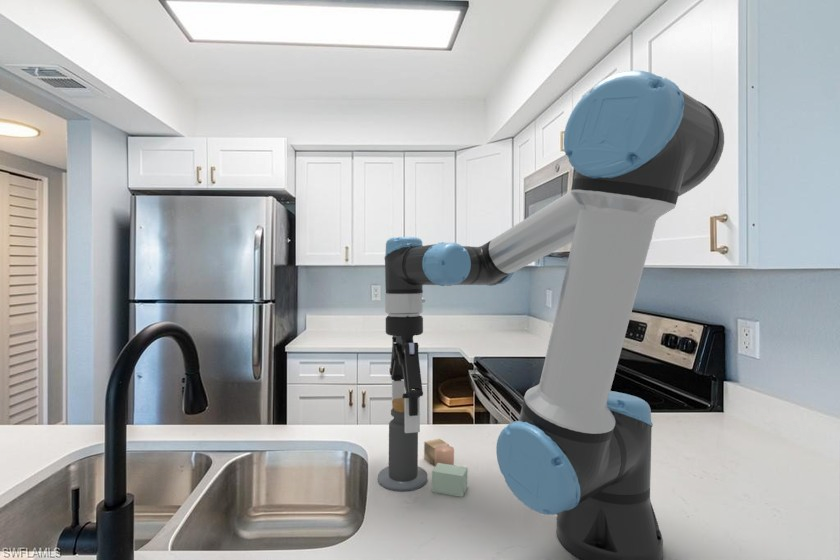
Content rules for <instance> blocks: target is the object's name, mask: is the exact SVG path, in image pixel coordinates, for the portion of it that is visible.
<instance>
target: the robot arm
mask: <svg viewBox="0 0 840 560" xmlns="http://www.w3.org/2000/svg"><path fill="white" fill-rule="evenodd" d="M724 147H725V133H724V128H723V123H722V122H721V120H720V118H719V117H718V116H717V113H715V112H714V111H713V109H712V108H710V107H709V106H707V105H706V104H704V103H703V102H701V101H699V100H697V99H695V98H694V97H692V96H691V95H689V94H687V93H686V92H684V91H683V90H681V89H680V88H679V86H678V85H677V84H676V83H675V82H674V81H672V80H671V79H669V78H667V77H663V76H659V75H656V74H655V73H651V72H649V71H645V70H627V71H622V72H618V73H615V74H613V75H611V76H608V77H606V78H604V79H603V80H601V81H599V82H598V83H596V84H595V85H594V87H592V89H591V90H590V91H589V92H587V93H585V94H584V95H583V96H582V97H581V98H580V100H579V101H578V102H577V103H576V105H575V106H574V107H573V109H572V111H571V113H570V115H569V118H568V120H567V121H566V124H565V128H564V133H563V150H564V153H565V156H567V158H568V162H569V164H570V166H571V167H572V168H573V169H574V171H575V172H574V174H573V179H572V185H571V189H570V191H568V192H567V193H565V194H564V195H562V196H561V197H559V198H557V199H555V200H554V201H552V202H550V203H549V204H547V205H546V206H544V207H543V208H541V209H539V210H538V211H536V212H534V213H533V214H531V215H529V216H528V217H526V218H525V219H523V220H522V221H520V222H518V223H517V224H515V225H513V226H512V227H510V228H509V229H507V230H505V231H504V232H502V233H501V234H498V236H496V237H494V238H493V239H491V240H489V241H488V242H486V243H484V244H482V245H481V246H468V245H461V244H460V243H457V242H443V241H442V242H438V243H434V244H427V245H423V241H422V239H421V238H419V237H414V236H413V237H412V236H399V237H391V238H389V239H387V240H386V243H385V255H384V274H385V275H384V277H385V278H384V279H385V283H384V284H385V285H384V287H385V293H384V300H385V301H384V306H385V309H384V310H385V313H386V314H388V315H387V316H386V317H385V334H387V335H388V336H392V337H391V339H392V344H391V356H390V357H391V359H390V370H389V375H390V376H391V377H390V379H391V401H392V400H394V399H397V398H405V433H415V432H418V433H420V432H421V423H420V422H421V421H420V419H421V417H420V416H421V411H420V410H421V409H420V407H421V406H420V402H421V399H420V398H421V397H423V395H424V391H423V383H422V375H421V367H420V357H419V346H420V345H419V343H418V342H414V336H419V335H422V334H423V333H424V317H423V315H420V314H422V313H423V312H424V309H423V306H424V305H423V303H426V298H425V297H423V292H424V290H423V286H441V287H445V286H447V287H448V286H449V287H450V286H497V285H504V284H505V283H507V282H510V280H511V279H512V277H513V276H514V274H515V272H517V271H518V270H520V269H523V268H525V267H526V266H528V265H530V264H533V263H534V262H536V261H538V260H540V259H542V258H544V257H546V256H548V255H549V254H553V252H556V251H558V250H560V249H562V248H564V247H566V246H567V245H569V244H571V247H570V251H569V255H568V259H567V263H566V267H565V272H564V276H563V281H562V284H561V288H560V293H559V298H558V302H557V306H556V307H557V308H556V310H555V314H554V315H555V316H554V319H553V323H552V328H551V331H550V336H549V340H548V344H547V348H546V349H547V350H546V353H545V359H544V362H543V367H542V371H541V376H540V379H539V383H538V384H537V385H534V386H532V387H530V388H529V389H527V391H526V392H525V394H524V396H523V400H522V401H523V402H522V405H521V410H520V414H519V419H518V420H515V421H512V422H510V423H508V424H507V425H506V426H504V428H503V429H502V430H501V431H500V433H499V435H498V437H497V440H496V448H495V449H496V459H497V464H498V468H499V470H500V473H501V475H502V476H503V478H504V481H505V484H506V485H507V487H508V488H509V490H510V491H511V492H512V493H513V495H514V496H515V497H516V498H517V499H518V500H519V501H520V502H521V503H522V504H523V505H525V506H526V507H527V508H528V509H530V510H531V511H534V512H535V513H539V514H542V515H549V516H550V515H551V516H552V515H556V525H555V526H556V535H557V539H558V540H559V541H560V543H561V545H562V546H563V547H564V548H565V549H566V550H567V551H569V552H570V553H571V554H572V555H574V556H575V557H576V558H578V559H580V560H663V558H664V539H663V535H662V533H661V532H662V531H661V530H660V526H659V522H658V520H657V517H656V514H655V509H654V507H653V504H652V502H651V470H652V469H651V467H652V463H651V462H652V431H653V429H652V428H653V426H654V425H653V422H652V411H651V407H650V404H649V403H648V402H647V401H645V400H644V399H642V398H641V397H638V396H635V395H631V394H628V393H625V392H624V393H623V392H618V391H612V390H611V389H612V385H613V381H614V379H615V374H616V370H617V367H618V363H619V361H620V358H621V352H622V349H623V345H624V341H625V338H626V334H627V330H628V326H629V322H630V319H631V316H632V311H633V308H634V305H635V300H636V297H637V293H638V289H639V287H640V286H639V285H640V283H641V279H642V274H643V271H644V267H645V263H646V260H647V256H648V252H649V249H650V245H651V241H652V237H653V235H654V230H655V226H656V222H657V221H658V220H659V218H661V217H662V216H664V215H665V214H668V213H669V212H671V211H672V210H674V209H675V208H676V205H677V202H678V198H679V197H681V196H682V195H684V194H686V193H688V192H690V191H691V190H692V189H695V188H696V187H697V186H699V185H700V184H701V183H703V182H704V181H705V180H706V179H707V178H708V177H709V176H710V175H711V174H712V173H713V172H714V170H715V169H716V167H717V165H718V164H719V161H720V159H721V157H722V154H723V153H724V152H723V150H724ZM391 409H393V404H392V403H391Z"/></svg>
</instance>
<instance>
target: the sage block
mask: <svg viewBox="0 0 840 560" xmlns="http://www.w3.org/2000/svg"><path fill="white" fill-rule="evenodd" d="M468 468H469V467H467V466H463V465H461V466H460V465H455V464H454V465H449V464H443V463H437V465H436V466H434V468H433V469H432V470H431V492H432V493H438V494H445V495H450V496H455V497H461V498H463V497H464V495H465V493H466V491H467V489H468V475H469V474H468V472H469V471H468Z"/></svg>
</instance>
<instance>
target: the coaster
mask: <svg viewBox="0 0 840 560" xmlns="http://www.w3.org/2000/svg"><path fill="white" fill-rule="evenodd" d="M428 478H429V475H428V472H427V471H426V470H425V469H424V468H422V467H420V466H418V473H417V477H416V478H415V479H413V480H410V481H395V480H393V479H391V478H390V477H389V466H385V467H384V468H383V469H381V470H380V471H379V472H378V474H377V482H378V484H379V485H380V487H383V488H385V489H386V490H389V491H394V492H410V491H415V490H419V489H421V488H422V487H423V488H424V486H425V485H426V484H427V483H428V480H429V479H428Z"/></svg>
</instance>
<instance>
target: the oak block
mask: <svg viewBox="0 0 840 560" xmlns="http://www.w3.org/2000/svg"><path fill="white" fill-rule="evenodd" d="M423 445H424V446H423V448H424V449H423V455H424V456H423V459H424V460H425V461H426V462H427V463H429V464H430V465H431V466H432V467H435V447H437V446H439V445H448V446H450V444H449V443H448V442H446V441H444V440H443V439H441V438H436V439H431V440H425V441H424V442H423Z"/></svg>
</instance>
